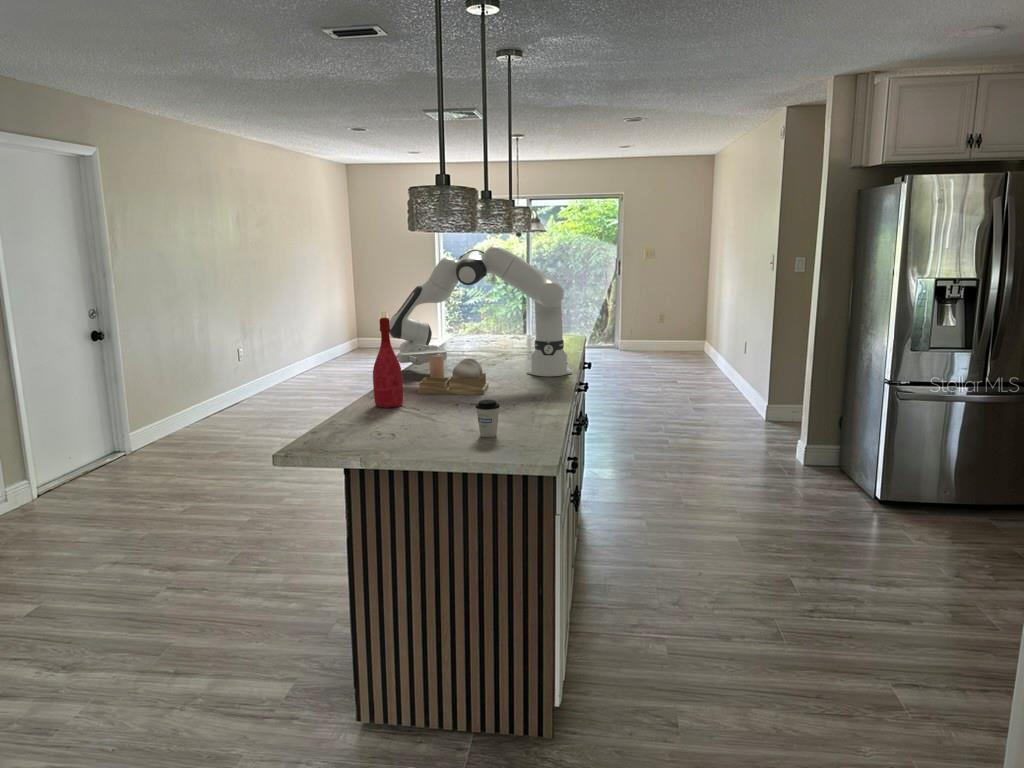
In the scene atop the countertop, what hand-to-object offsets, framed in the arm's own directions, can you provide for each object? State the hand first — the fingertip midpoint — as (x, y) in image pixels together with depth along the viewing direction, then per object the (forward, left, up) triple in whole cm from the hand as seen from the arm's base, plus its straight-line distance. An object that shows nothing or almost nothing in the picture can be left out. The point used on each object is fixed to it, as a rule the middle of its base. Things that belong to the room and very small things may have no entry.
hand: (427, 359), depth 277 cm
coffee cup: (+82, +36, -8) cm, 90 cm away
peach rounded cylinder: (+9, +6, -8) cm, 13 cm away
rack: (+22, +15, -8) cm, 27 cm away
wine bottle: (+46, -3, -8) cm, 47 cm away
